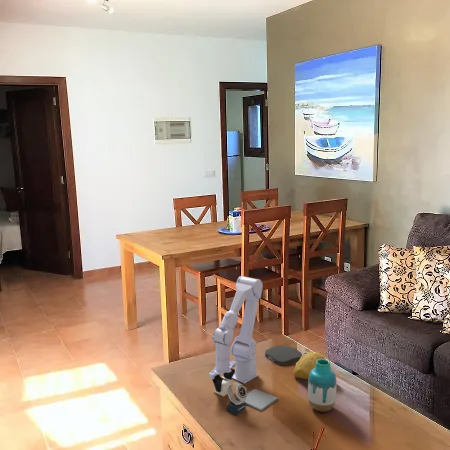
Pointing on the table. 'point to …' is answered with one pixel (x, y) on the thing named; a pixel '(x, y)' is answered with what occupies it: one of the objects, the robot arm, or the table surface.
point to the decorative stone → (306, 365)
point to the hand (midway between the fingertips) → (222, 388)
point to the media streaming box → (283, 355)
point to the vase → (322, 386)
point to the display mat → (259, 399)
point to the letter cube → (223, 387)
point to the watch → (236, 404)
